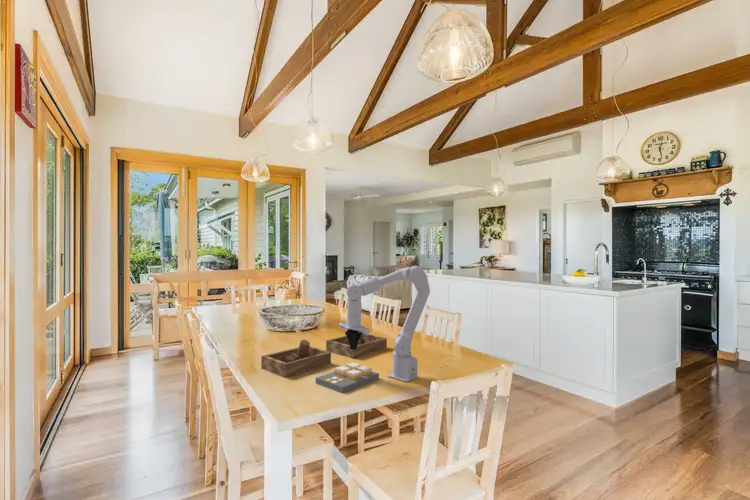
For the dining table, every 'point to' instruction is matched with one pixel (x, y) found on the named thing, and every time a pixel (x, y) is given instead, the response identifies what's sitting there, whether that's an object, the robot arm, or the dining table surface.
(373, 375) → the board
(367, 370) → the button
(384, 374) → the dining table surface
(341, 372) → the button
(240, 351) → the dining table surface
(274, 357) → the trays
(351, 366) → the button
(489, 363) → the dining table surface
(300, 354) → the wooden block set
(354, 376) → the button
